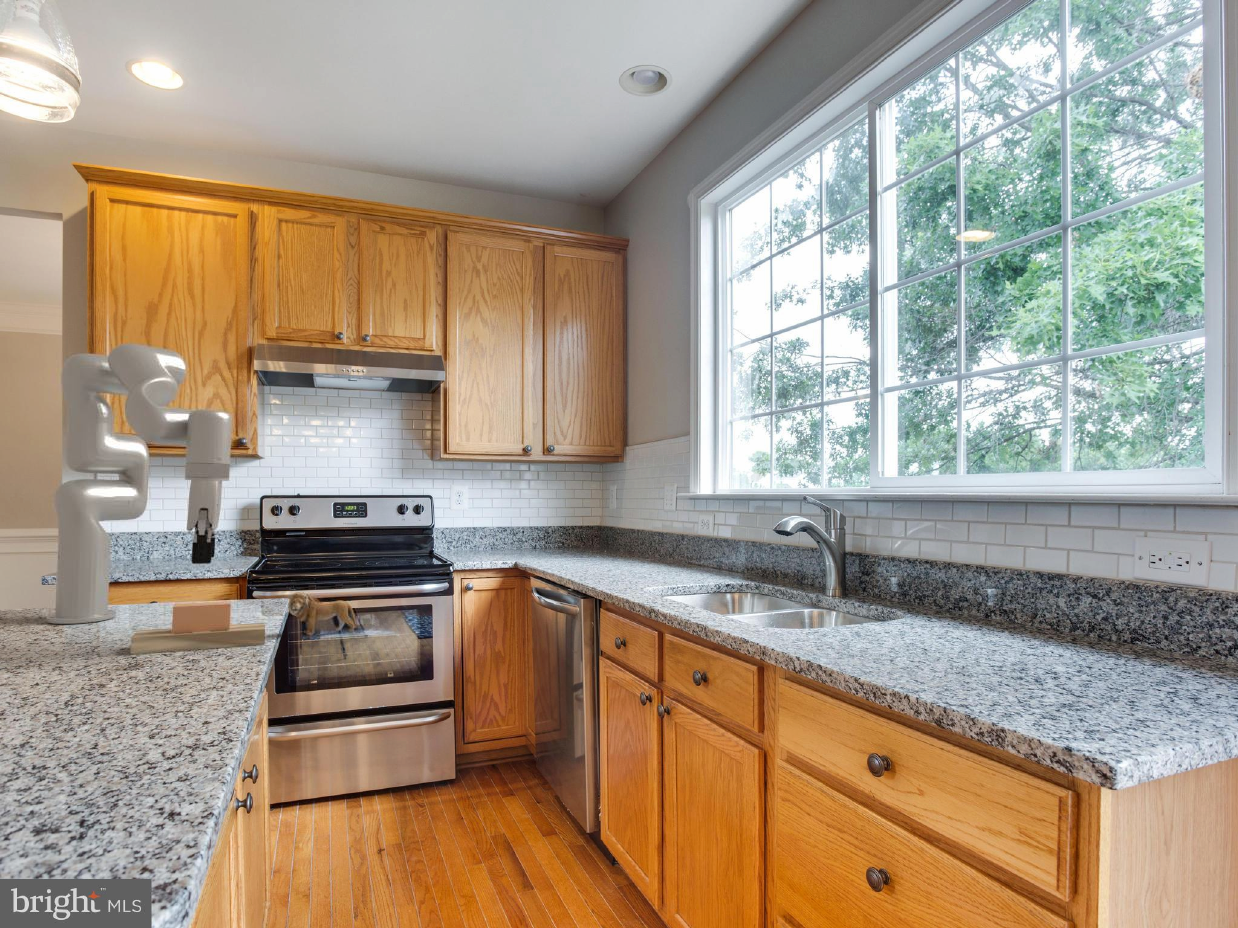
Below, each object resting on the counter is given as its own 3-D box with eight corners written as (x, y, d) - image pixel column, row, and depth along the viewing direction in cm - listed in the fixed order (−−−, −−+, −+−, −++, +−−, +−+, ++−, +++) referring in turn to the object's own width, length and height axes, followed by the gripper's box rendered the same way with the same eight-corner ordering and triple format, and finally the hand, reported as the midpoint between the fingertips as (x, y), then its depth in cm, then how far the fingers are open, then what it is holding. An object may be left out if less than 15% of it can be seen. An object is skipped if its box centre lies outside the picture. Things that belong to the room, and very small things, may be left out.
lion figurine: (288, 638, 146) (290, 594, 146) (285, 633, 150) (287, 590, 151) (363, 632, 153) (364, 590, 154) (358, 627, 158) (359, 586, 158)
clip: (173, 643, 138) (175, 603, 138) (229, 639, 142) (231, 601, 142) (171, 647, 135) (172, 606, 135) (229, 643, 139) (230, 603, 139)
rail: (136, 646, 136) (137, 630, 136) (264, 637, 146) (265, 622, 146) (130, 654, 130) (131, 637, 130) (264, 644, 140) (265, 629, 140)
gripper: (189, 471, 145) (185, 555, 145) (180, 472, 130) (175, 566, 129) (231, 473, 149) (227, 554, 148) (227, 474, 133) (222, 565, 133)
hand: (203, 560), depth 139 cm, fingers open, 9 cm apart
